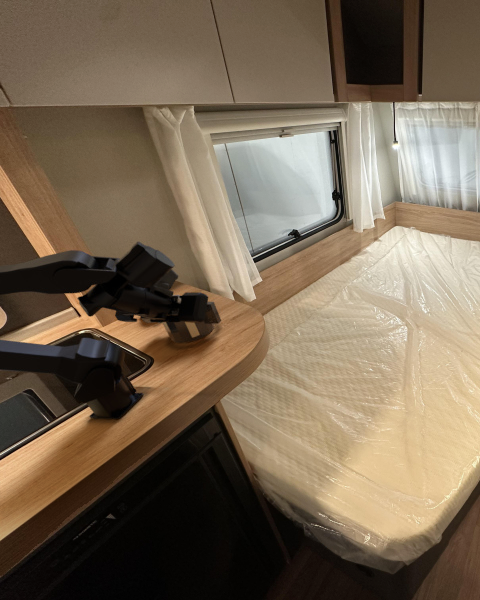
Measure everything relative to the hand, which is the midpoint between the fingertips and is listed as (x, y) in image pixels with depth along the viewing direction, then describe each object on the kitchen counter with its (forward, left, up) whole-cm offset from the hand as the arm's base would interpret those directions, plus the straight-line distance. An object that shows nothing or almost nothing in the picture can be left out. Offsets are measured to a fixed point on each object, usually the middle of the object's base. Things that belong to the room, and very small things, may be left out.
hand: (190, 315), depth 76 cm
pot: (+6, +7, -9) cm, 13 cm away
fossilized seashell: (+16, +23, -11) cm, 30 cm away
